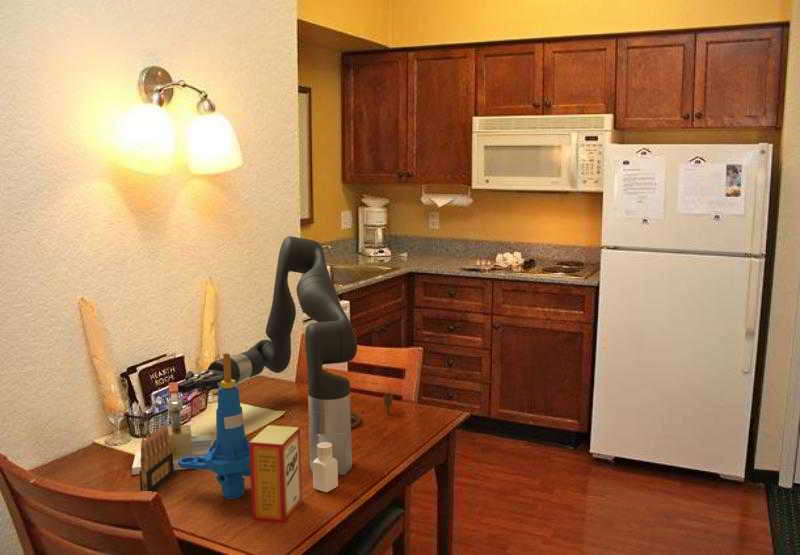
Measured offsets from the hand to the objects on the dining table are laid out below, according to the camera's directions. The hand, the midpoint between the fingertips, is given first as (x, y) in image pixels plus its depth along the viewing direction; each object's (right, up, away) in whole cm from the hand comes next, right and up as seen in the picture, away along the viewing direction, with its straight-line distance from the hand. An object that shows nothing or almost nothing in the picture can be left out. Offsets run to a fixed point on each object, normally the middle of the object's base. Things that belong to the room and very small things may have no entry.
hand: (180, 389), depth 178 cm
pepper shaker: (+38, -17, -23) cm, 47 cm away
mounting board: (+2, -15, -9) cm, 18 cm away
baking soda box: (+29, -19, -33) cm, 48 cm away
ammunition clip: (+1, -17, -21) cm, 27 cm away
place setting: (+41, -12, +14) cm, 45 cm away
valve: (+16, -18, -25) cm, 34 cm away
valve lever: (0, -2, -5) cm, 5 cm away
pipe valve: (+2, -14, -10) cm, 17 cm away
